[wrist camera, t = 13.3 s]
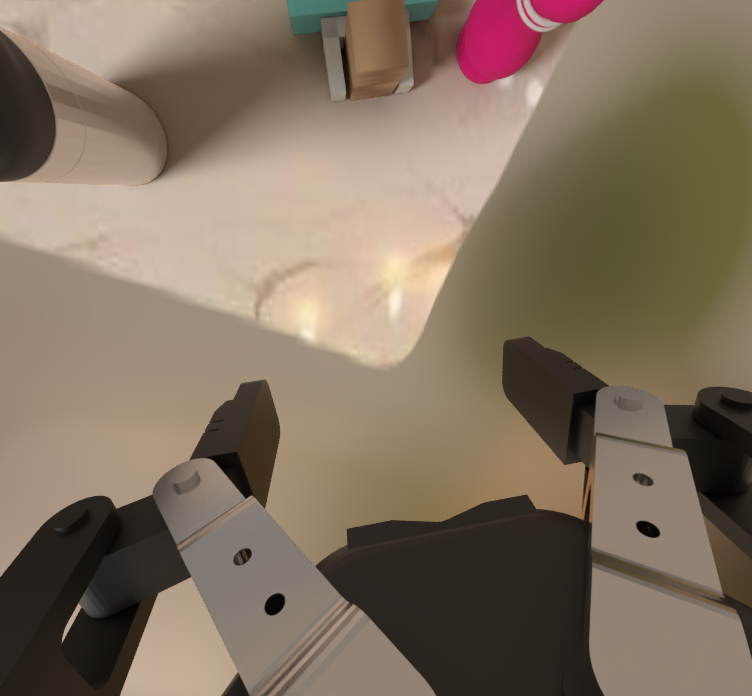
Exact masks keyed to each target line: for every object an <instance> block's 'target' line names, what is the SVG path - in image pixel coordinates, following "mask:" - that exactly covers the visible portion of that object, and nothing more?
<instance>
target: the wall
mask: <svg viewBox="0 0 752 696" xmlns="http://www.w3.org/2000/svg"><path fill="white" fill-rule="evenodd" d="M354 1H363V0H287V2H288V8H289V14H290V19H291V23H292V28H293V32H294V35H296V34H305V33H314V32H321V22H320V18H328V17H337V16H346V15H347V8H348V2H354ZM404 1H405V9H409V19H410V22H413V21H422V20H429V18H430V16H431V14H432V13H433V11H434V9H435V7H436V6H437V4H438V2H439V0H404Z"/></svg>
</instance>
